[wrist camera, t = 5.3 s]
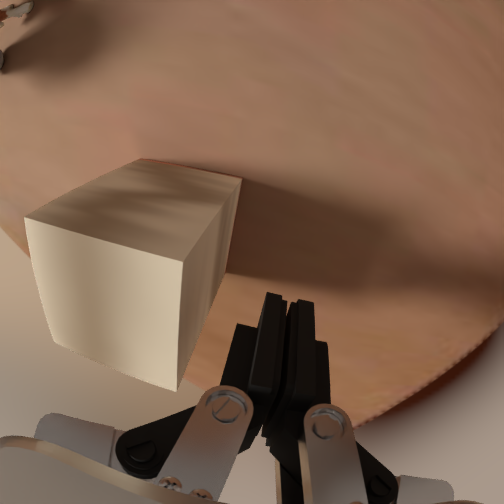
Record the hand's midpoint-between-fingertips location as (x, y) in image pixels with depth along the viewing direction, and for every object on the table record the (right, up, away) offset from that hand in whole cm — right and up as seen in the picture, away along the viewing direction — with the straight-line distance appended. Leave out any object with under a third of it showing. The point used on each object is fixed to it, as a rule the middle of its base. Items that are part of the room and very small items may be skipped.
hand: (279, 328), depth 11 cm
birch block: (-5, +5, +6) cm, 9 cm away
